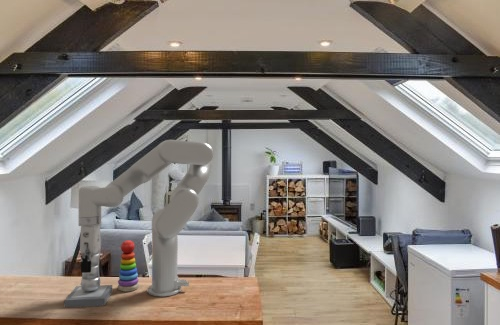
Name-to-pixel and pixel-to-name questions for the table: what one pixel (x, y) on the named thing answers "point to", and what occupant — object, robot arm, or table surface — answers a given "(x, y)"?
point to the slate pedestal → (88, 297)
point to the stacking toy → (128, 268)
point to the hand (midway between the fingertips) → (89, 267)
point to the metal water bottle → (92, 274)
